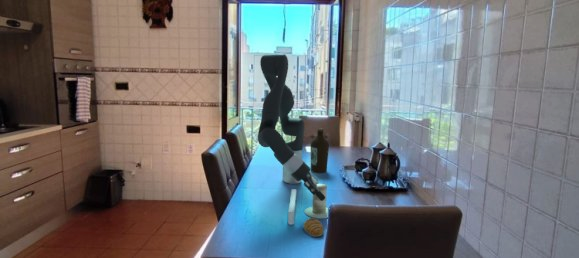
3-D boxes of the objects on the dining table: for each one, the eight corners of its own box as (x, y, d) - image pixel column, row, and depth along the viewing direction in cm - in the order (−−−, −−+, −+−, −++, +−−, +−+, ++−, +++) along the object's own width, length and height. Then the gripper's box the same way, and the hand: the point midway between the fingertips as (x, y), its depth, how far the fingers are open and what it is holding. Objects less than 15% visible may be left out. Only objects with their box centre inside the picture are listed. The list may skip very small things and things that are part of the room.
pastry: (327, 237, 126) (328, 227, 126) (309, 239, 125) (310, 228, 124) (318, 226, 135) (319, 216, 135) (301, 227, 134) (301, 218, 133)
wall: (291, 200, 161) (291, 189, 160) (295, 200, 161) (296, 189, 160) (288, 224, 135) (288, 211, 135) (293, 224, 135) (293, 212, 135)
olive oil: (321, 167, 217) (323, 126, 213) (331, 172, 208) (333, 129, 204) (306, 169, 212) (307, 127, 208) (315, 174, 203) (317, 130, 199)
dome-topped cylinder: (309, 211, 148) (310, 185, 146) (318, 208, 151) (319, 182, 150) (319, 215, 144) (320, 188, 142) (328, 212, 147) (329, 186, 146)
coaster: (298, 211, 148) (298, 210, 148) (318, 205, 156) (318, 204, 156) (319, 221, 139) (319, 220, 139) (340, 213, 147) (340, 212, 147)
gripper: (302, 165, 138) (331, 195, 139) (303, 156, 152) (329, 184, 153) (288, 178, 139) (316, 208, 140) (290, 168, 153) (316, 195, 154)
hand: (323, 195), depth 146 cm, fingers open, 8 cm apart
